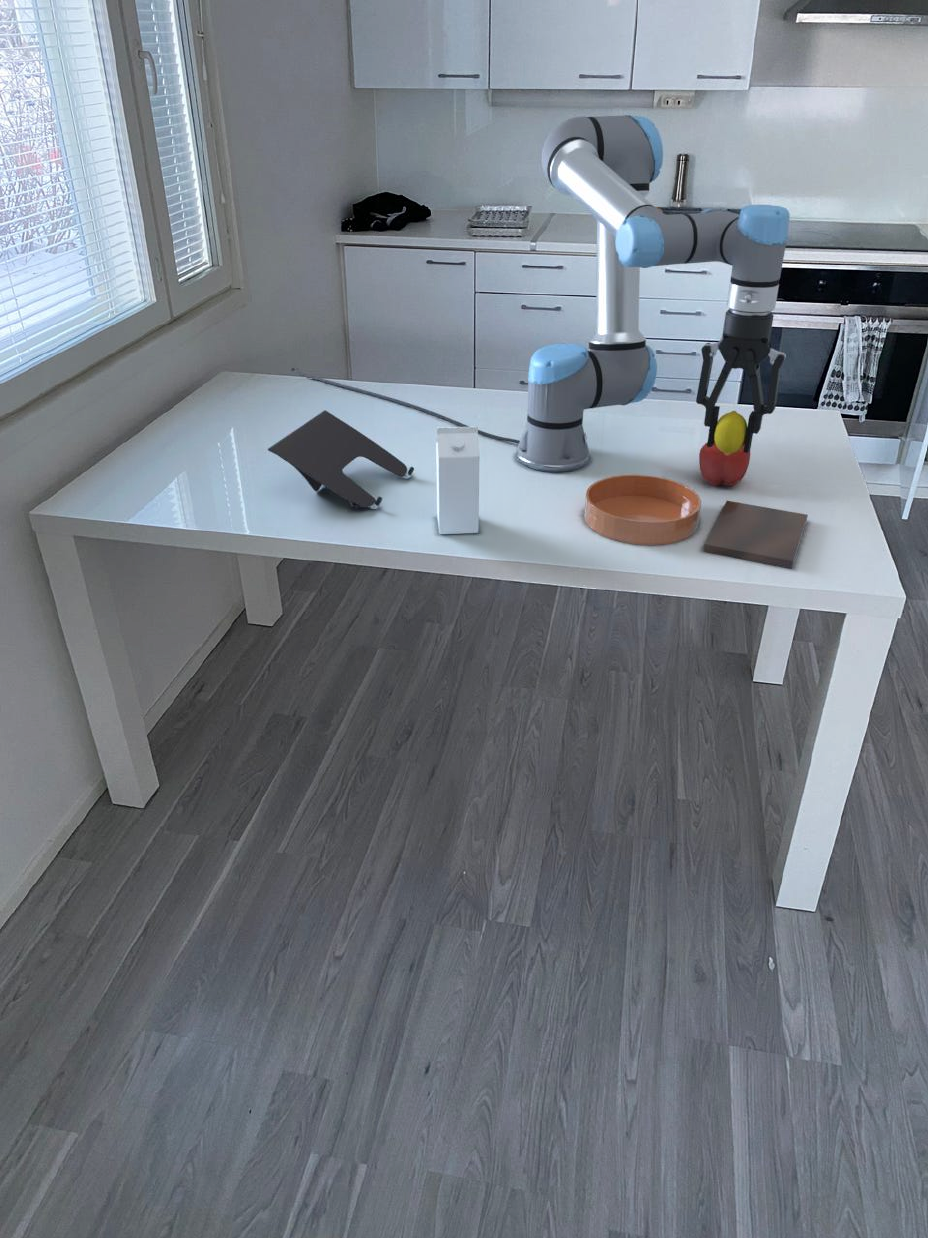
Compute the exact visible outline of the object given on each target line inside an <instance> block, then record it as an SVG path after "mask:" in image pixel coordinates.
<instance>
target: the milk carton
mask: <svg viewBox="0 0 928 1238" xmlns="http://www.w3.org/2000/svg"><path fill="white" fill-rule="evenodd" d="M478 430H479V427H478V426H469V427H461V426H451V427H450V426H447V427H443V426H442V427H436V440H435V448H436V450H435V452H436V455H435V457H436V458H435V459H436V518H437V527H438V533H439V535H456V534H457V535H458V534H459V535H460V534H478V533H479V528H480V527H479V526H480V525H479V521H480V456H481V455H480V443H479V441H480V440H479V433H478Z"/></svg>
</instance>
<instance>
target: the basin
mask: <svg viewBox="0 0 928 1238" xmlns="http://www.w3.org/2000/svg"><path fill="white" fill-rule="evenodd" d="M701 509H702V499H701V497H700V495H699V494H698V493H697V492H696V491H695V490H694V489H693V488H691V487H689V486H688V485H685V484H683V483H681V482H679V481H675V480H672V479H669V478H664V477H661V476H655V475H648V474H647V475H646V474H621V475H614V476H610V477H605V478H602V479H600V480H597V481H595V482H594V483H591V485H590V486H588V488H586V492H585V499H584V511H583V515H584V516H583V517H584V521H585V523H586V525H587V526H588V527H589V528H590V529H591V530H593V531H594V532H595V533H597V534H599V535H601V536H603V537H605V538H608V539H610V540H614V541H618V542H620V543H621V542H622V543H625V544H632V545H639V546H642V545H643V546H660V545H661V546H662V545H669V544H674V543H678V542H681V541H684V540H686V539H688V538H690V537H691V536H693V535H694V534H695V533H696V531H697V529H698V526H699V522H700V515H701Z"/></svg>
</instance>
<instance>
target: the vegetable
mask: <svg viewBox="0 0 928 1238" xmlns="http://www.w3.org/2000/svg"><path fill="white" fill-rule="evenodd" d="M744 445H745V444H744ZM744 445H743V446H742V448H741V449H740V450H738V451H736V452H734V453H731V454H730V455H725V454H724V452H722V451H721V450H719V449H718V448H717V446H716V444H715V442H714V444H713V445H712V447H707V442H705V443H704V445H702V446H701V448H700V449H699V454H698V459H699V460H698V462H699V464H698V465H699V470H700V474H701V476H702V478H703V480H704V481H705V482H706V483H708V484H710V485H711V486H720V485H724V486H728V487H730V486H733V485H736V484H738V482H740V481H742V479H743V478H744V477H745V476H746V473H747V471H748V469H749V465H750V460H751V449H750V450H749V452H748V453H744V452H743V451H744Z"/></svg>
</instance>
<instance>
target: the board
mask: <svg viewBox="0 0 928 1238" xmlns="http://www.w3.org/2000/svg"><path fill="white" fill-rule="evenodd" d="M808 516H809V514H804V513H800V512H796V511H795V512H794V511H789V510H783V509H779V508H771V507H766V506H761V505H754V504H750V503H749V504H748V503H743V502H738V501H731V500H726V501H725V503H724V505H723V506H722V509H721V511H720V512H719V515H718V517H717V519H716V521H715V523H714V524H713V527H712V529H711V531H710V533H709V535H708V537H707V538H706V541H705V543H704V545H703V552H704V553H710V554H714V555H719V556H723V557H724V556H725V557H730V558H734V559H740V560H745V561H750V562H755V563H760V564H765V565H771V566H775V567H781V568H787V569H790V570H792V569H793V565H794V562H795V560H796V556H797V553H798V551H799V547H800V544H801V541H802V538H803V535H804V531H805V527H806V524H807V521H808Z"/></svg>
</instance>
